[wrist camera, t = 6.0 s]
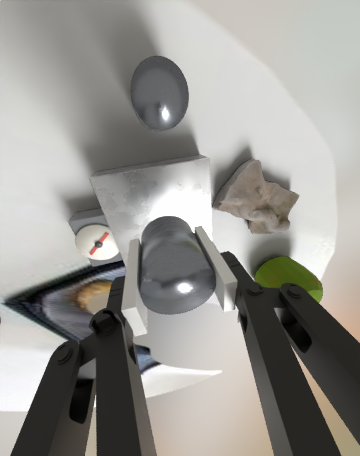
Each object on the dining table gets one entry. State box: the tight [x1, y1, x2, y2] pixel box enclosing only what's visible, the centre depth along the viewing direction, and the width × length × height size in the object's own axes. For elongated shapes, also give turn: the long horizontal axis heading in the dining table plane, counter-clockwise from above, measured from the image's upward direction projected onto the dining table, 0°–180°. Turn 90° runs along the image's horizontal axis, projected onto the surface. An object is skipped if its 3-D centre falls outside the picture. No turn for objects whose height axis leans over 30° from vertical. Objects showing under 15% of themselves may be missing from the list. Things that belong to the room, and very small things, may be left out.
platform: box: [89, 157, 212, 268], centre depth 24 cm, size 14×18×1 cm
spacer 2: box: [140, 215, 216, 314], centre depth 13 cm, size 5×5×6 cm
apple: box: [254, 256, 323, 303], centre depth 34 cm, size 11×11×11 cm
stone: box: [213, 159, 299, 234], centre depth 27 cm, size 15×10×4 cm, turn 58°
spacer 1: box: [131, 56, 189, 131], centre depth 17 cm, size 5×5×6 cm
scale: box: [68, 155, 207, 266], centre depth 25 cm, size 20×18×4 cm
